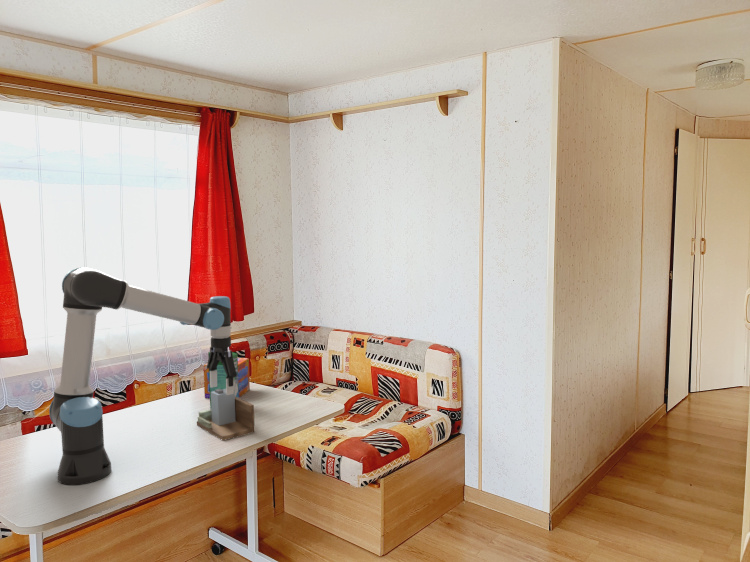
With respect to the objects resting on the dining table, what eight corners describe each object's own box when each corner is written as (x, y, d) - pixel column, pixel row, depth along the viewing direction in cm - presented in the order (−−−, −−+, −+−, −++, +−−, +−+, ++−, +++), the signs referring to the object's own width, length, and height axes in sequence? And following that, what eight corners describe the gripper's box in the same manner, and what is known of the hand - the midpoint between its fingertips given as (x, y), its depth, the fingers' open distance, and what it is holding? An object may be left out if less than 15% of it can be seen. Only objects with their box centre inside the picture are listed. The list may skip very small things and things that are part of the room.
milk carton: (230, 411, 242) (228, 352, 240) (210, 410, 244) (208, 352, 242) (239, 404, 251) (237, 348, 249) (220, 403, 253) (218, 347, 250)
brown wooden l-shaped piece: (222, 440, 209) (221, 412, 208) (196, 425, 226) (195, 399, 225) (254, 431, 218) (253, 404, 217) (227, 417, 234) (226, 392, 233)
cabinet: (218, 425, 220) (217, 392, 219) (211, 421, 225) (210, 389, 224) (235, 421, 225) (234, 389, 224) (228, 417, 230) (227, 385, 228)
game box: (219, 388, 276) (218, 356, 274) (250, 390, 273) (249, 357, 272) (204, 398, 261) (203, 364, 259) (236, 400, 258) (235, 365, 256)
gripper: (245, 340, 215) (246, 395, 217) (215, 331, 234) (216, 382, 235) (227, 342, 210) (227, 399, 212) (197, 333, 229) (198, 385, 230)
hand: (221, 390), depth 224 cm, fingers open, 13 cm apart
